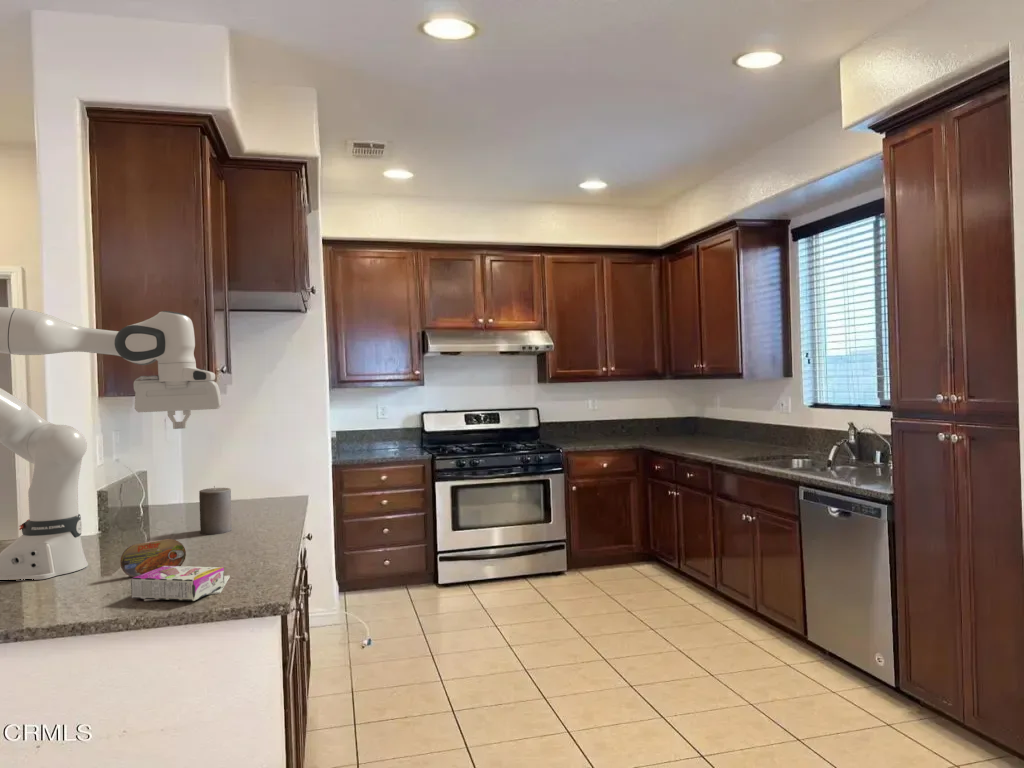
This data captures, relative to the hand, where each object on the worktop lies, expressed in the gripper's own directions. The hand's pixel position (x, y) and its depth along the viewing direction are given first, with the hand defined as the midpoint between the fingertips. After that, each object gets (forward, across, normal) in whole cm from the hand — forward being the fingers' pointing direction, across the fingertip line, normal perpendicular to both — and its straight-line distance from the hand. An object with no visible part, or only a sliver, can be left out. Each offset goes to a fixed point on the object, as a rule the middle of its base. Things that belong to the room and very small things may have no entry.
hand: (179, 428), depth 182 cm
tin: (+37, -8, +2) cm, 38 cm away
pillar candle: (+37, -1, +51) cm, 63 cm away
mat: (+37, +4, -16) cm, 41 cm away
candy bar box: (+34, -5, -17) cm, 38 cm away
